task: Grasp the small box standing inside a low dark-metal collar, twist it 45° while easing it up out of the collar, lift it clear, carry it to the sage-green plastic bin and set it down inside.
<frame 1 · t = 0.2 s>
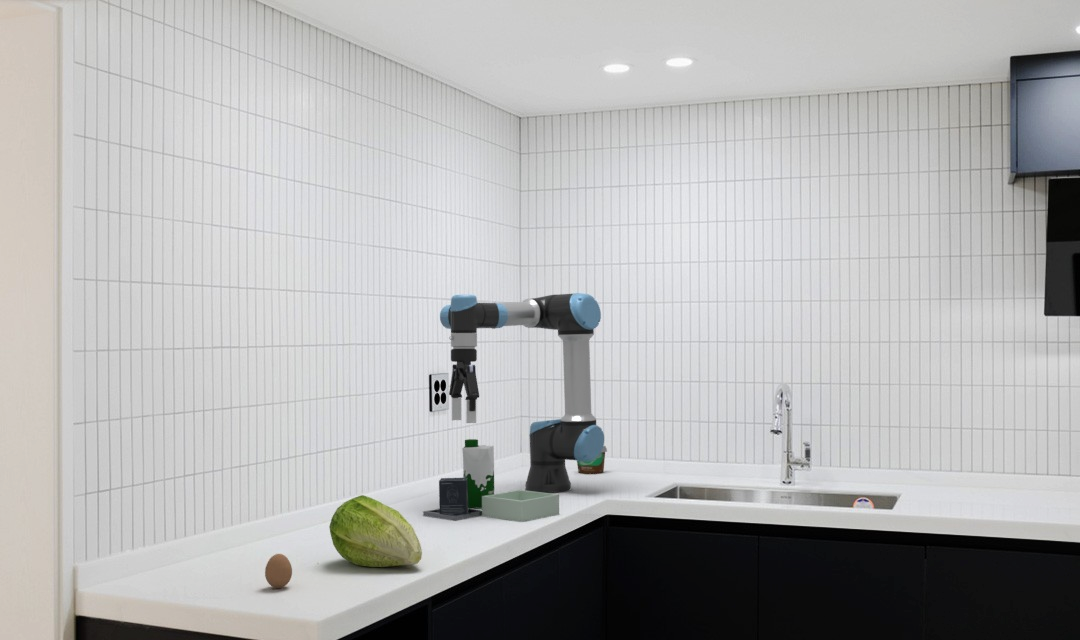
hand: (463, 421, 305), 27 cm above the worktop, fingers open, 13 cm apart
lettuce: (378, 566, 238), on the worktop
egg: (278, 589, 217), on the worktop
collar: (454, 515, 303), on the worktop
box: (454, 516, 303), resting in collar
bin: (520, 515, 302), on the worktop
milk carton: (479, 506, 319), on the worktop
food container: (589, 474, 391), on the worktop
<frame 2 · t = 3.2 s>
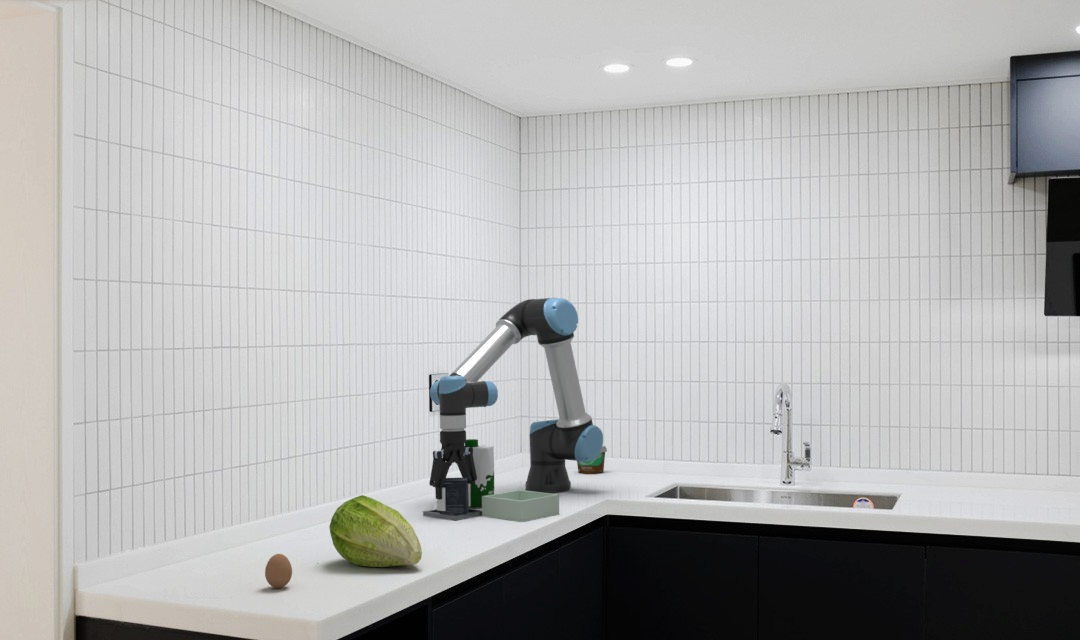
hand: (454, 508, 303), 2 cm above the worktop, fingers closed on box, 9 cm apart
box: (454, 516, 303), resting in collar, touching gripper
everything else where it was.
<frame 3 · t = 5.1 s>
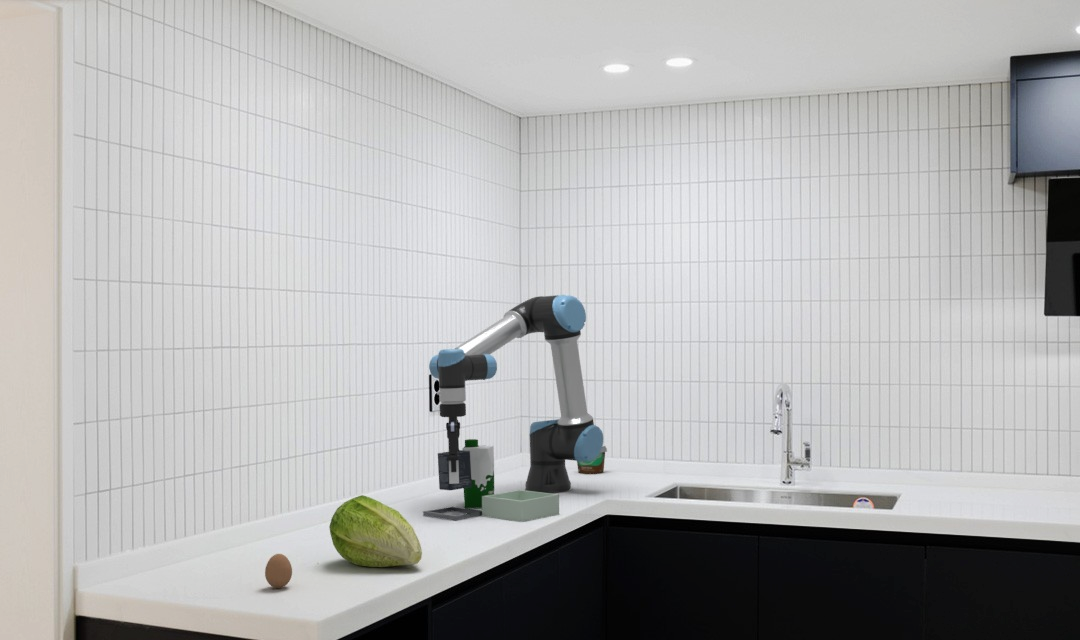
hand: (454, 480, 303), 10 cm above the worktop, fingers closed on box, 9 cm apart
box: (455, 489, 303), point 7 cm above the worktop, touching gripper
everything else where it was.
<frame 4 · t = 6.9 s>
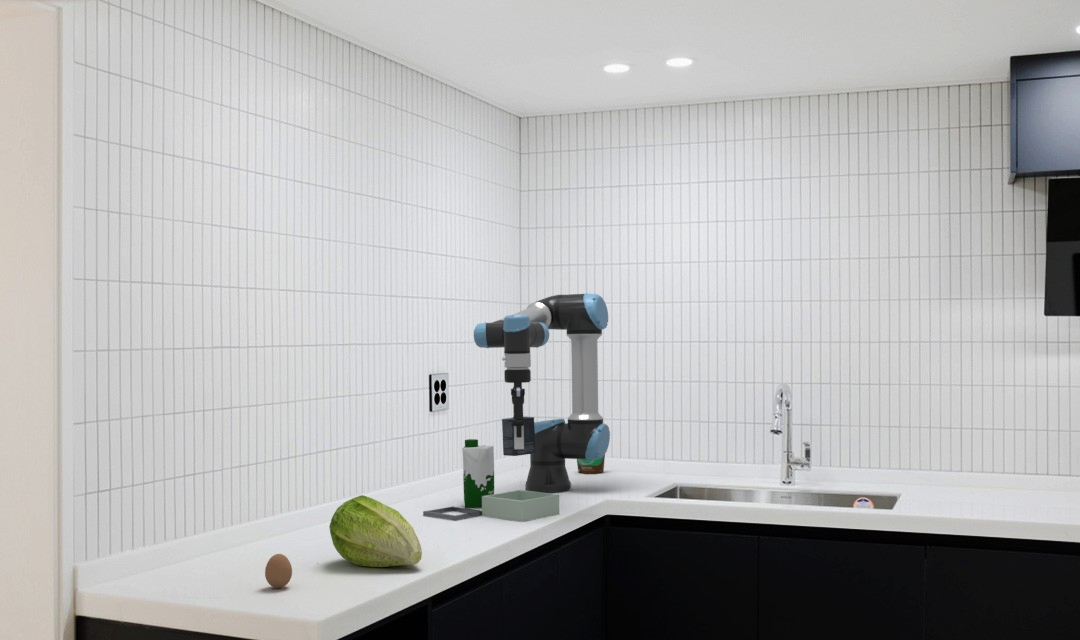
hand: (518, 447, 302), 19 cm above the worktop, fingers closed on box, 9 cm apart
box: (519, 455, 302), point 17 cm above the worktop, touching gripper
everything else where it was.
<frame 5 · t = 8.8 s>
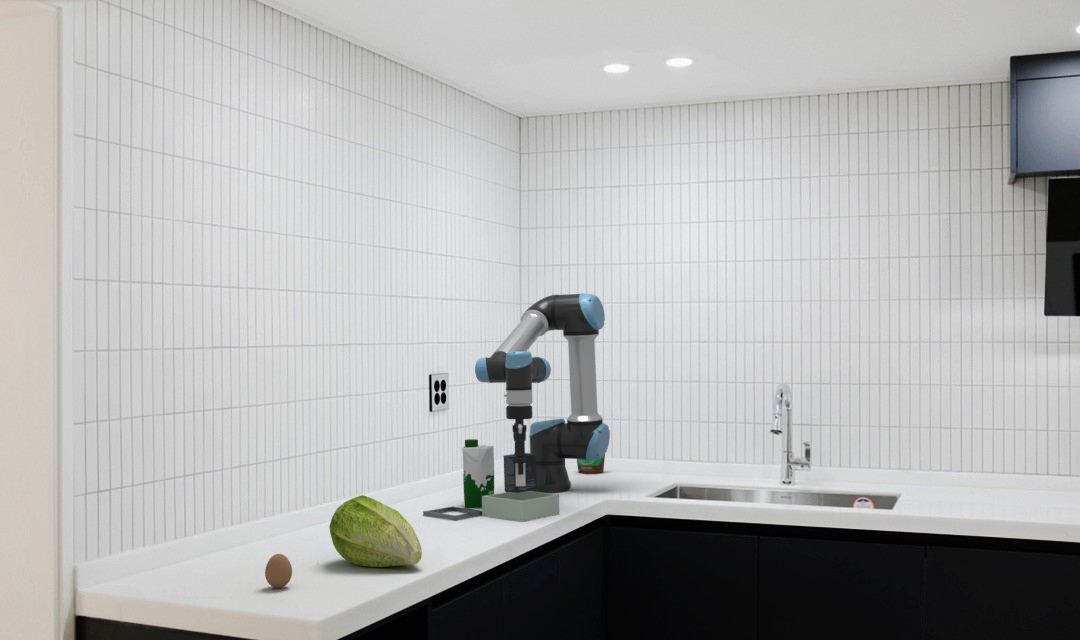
hand: (520, 483, 302), 9 cm above the worktop, fingers closed on box, 9 cm apart
box: (520, 492, 302), point 7 cm above the worktop, touching gripper
everything else where it was.
when the fingers open (4 cm above the worktop, at t = 10.6 s): box drops 2 cm, resting on bin.
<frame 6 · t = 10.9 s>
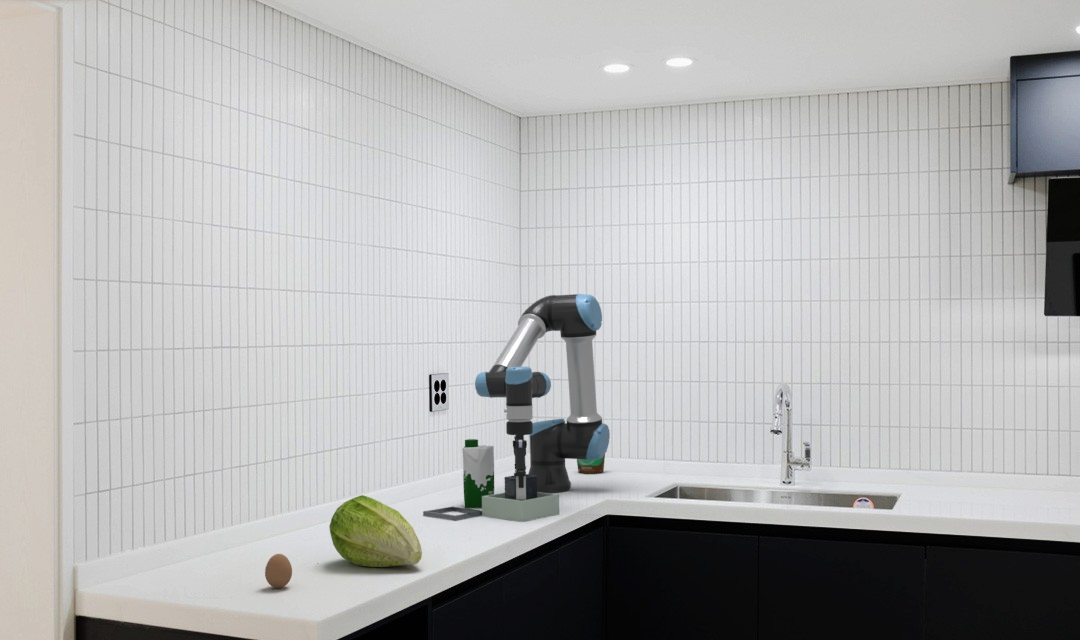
hand: (520, 496, 302), 5 cm above the worktop, fingers open, 12 cm apart
box: (521, 513, 302), resting on bin
everything else where it was.
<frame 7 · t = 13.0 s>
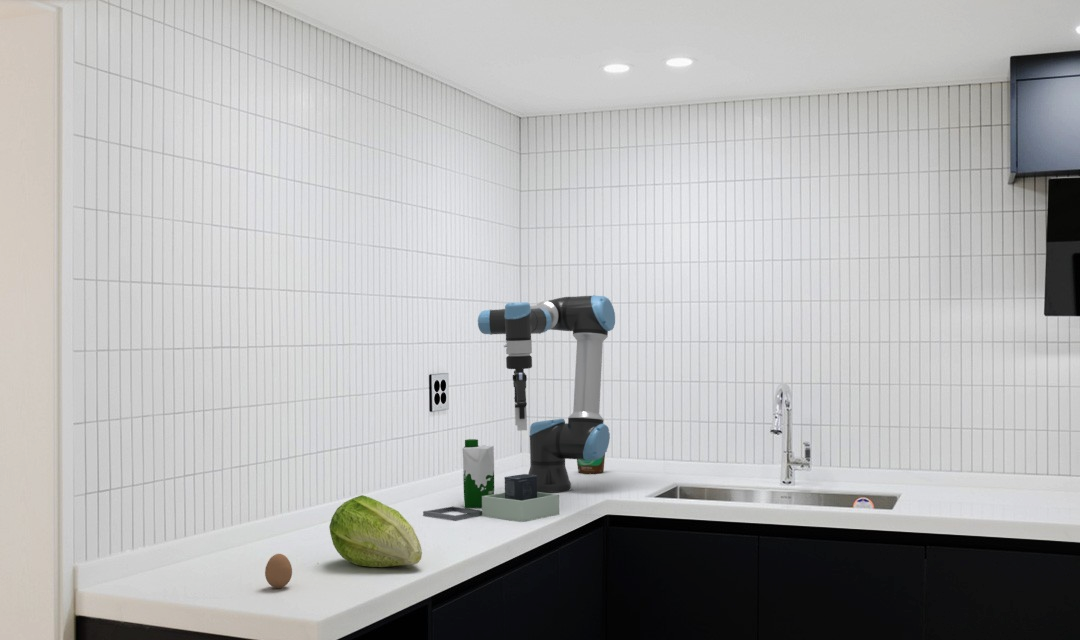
hand: (521, 427, 308), 24 cm above the worktop, fingers open, 13 cm apart
nothing on the worktop moved.
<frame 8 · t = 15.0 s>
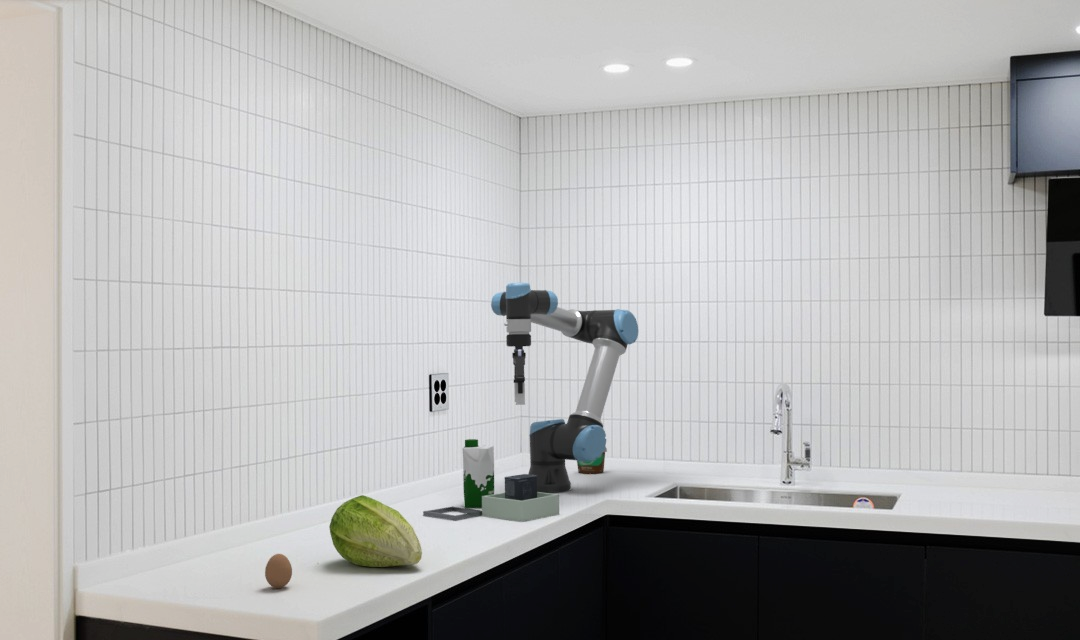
hand: (519, 403, 321), 31 cm above the worktop, fingers open, 13 cm apart
nothing on the worktop moved.
at the end: box inside the target area on the bin (0.3 cm from its centre), point 0.4 cm above the bin's base; box tilted 0°; the gripper is holding nothing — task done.
